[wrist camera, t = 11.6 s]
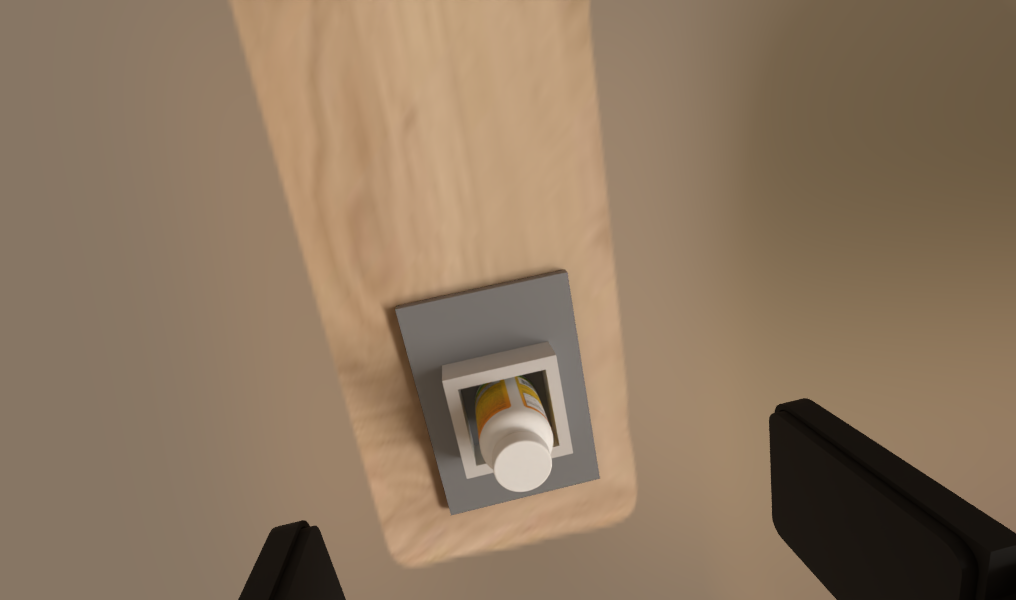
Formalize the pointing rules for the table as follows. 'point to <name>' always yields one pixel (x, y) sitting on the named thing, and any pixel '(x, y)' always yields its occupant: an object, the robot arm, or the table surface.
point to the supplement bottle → (514, 433)
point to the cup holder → (495, 356)
